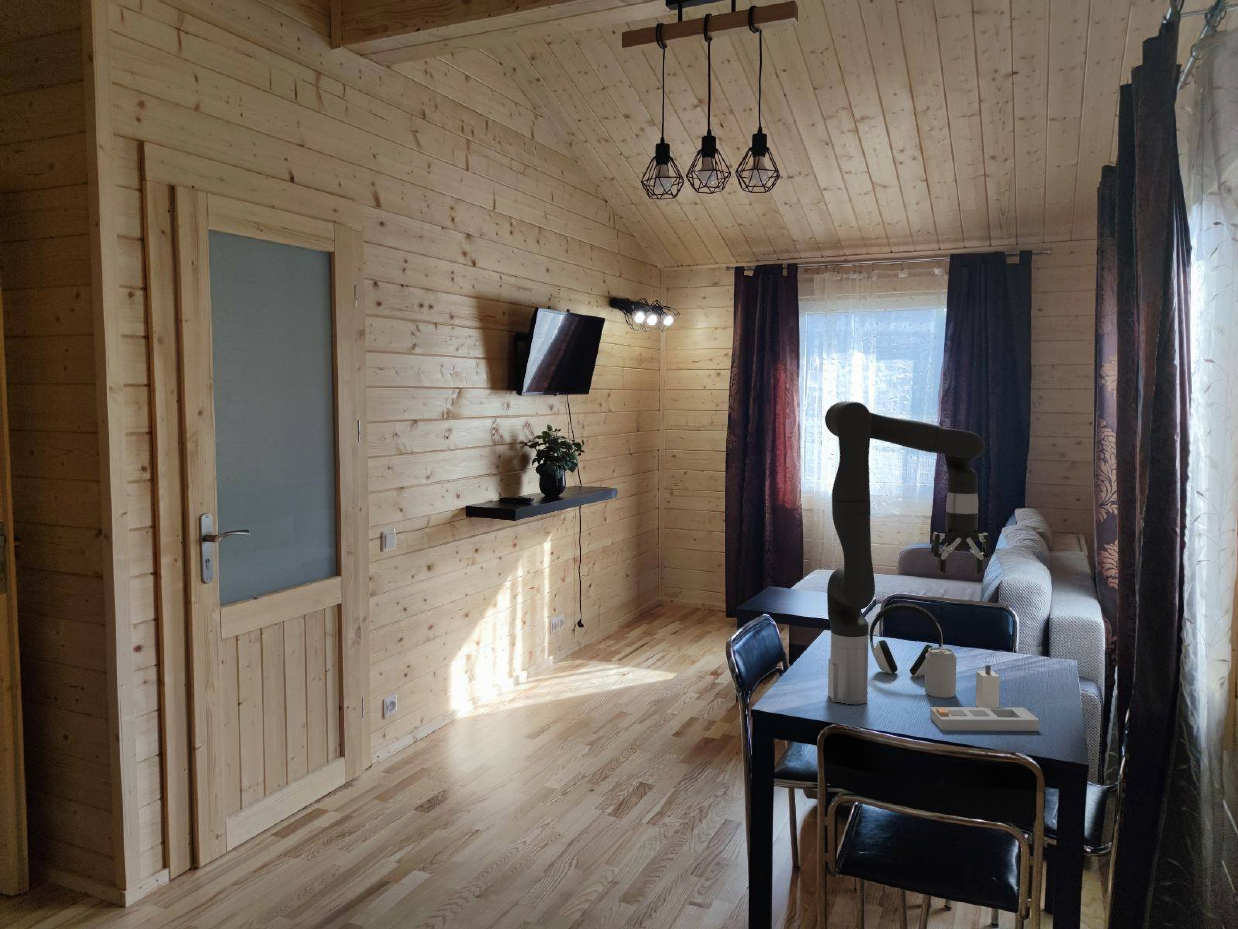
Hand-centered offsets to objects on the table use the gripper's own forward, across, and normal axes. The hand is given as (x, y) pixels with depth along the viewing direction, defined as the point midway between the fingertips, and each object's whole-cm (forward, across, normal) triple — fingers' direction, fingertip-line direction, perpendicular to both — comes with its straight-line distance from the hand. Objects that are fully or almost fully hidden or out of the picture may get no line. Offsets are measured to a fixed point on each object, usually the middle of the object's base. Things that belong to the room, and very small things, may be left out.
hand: (959, 573), depth 228 cm
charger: (+31, +4, -11) cm, 33 cm away
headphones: (+32, -9, +16) cm, 36 cm away
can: (+32, -4, -1) cm, 32 cm away
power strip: (+31, -1, -22) cm, 38 cm away
